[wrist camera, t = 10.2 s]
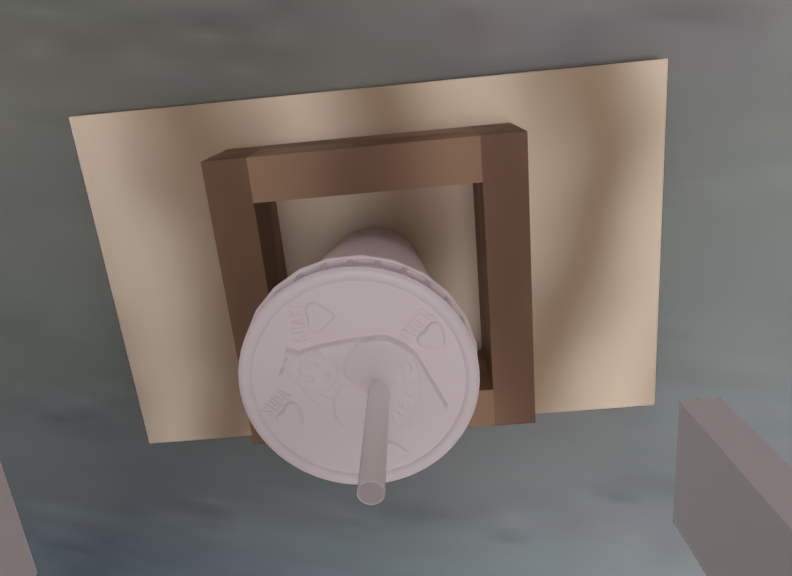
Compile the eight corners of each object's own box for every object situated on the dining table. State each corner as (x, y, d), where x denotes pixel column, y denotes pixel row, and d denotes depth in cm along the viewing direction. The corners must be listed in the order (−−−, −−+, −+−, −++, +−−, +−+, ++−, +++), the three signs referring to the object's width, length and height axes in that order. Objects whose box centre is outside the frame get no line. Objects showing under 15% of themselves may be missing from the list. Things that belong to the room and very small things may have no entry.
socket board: (157, 431, 30) (116, 492, 25) (81, 115, 25) (15, 125, 21) (646, 393, 29) (688, 450, 24) (657, 58, 24) (712, 57, 20)
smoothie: (427, 363, 27) (449, 644, 14) (278, 322, 27) (153, 573, 13) (476, 219, 25) (556, 387, 12) (316, 172, 25) (213, 292, 11)
